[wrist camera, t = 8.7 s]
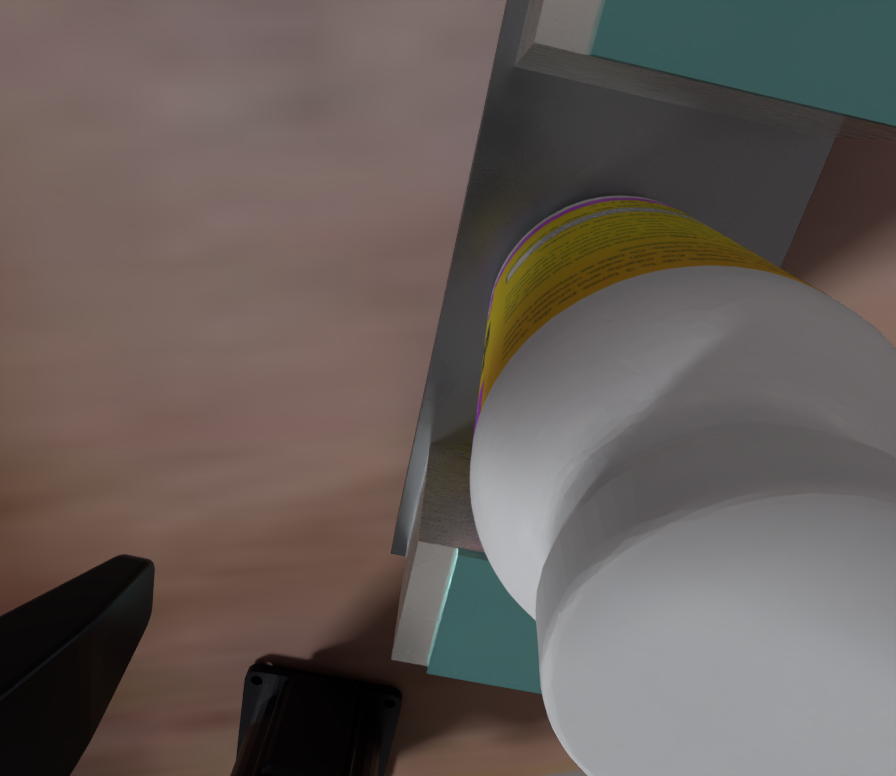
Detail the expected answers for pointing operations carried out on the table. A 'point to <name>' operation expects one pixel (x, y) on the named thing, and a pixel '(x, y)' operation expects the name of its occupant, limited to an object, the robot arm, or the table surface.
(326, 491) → the table surface
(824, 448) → the supplement bottle
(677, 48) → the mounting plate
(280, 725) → the robot arm
